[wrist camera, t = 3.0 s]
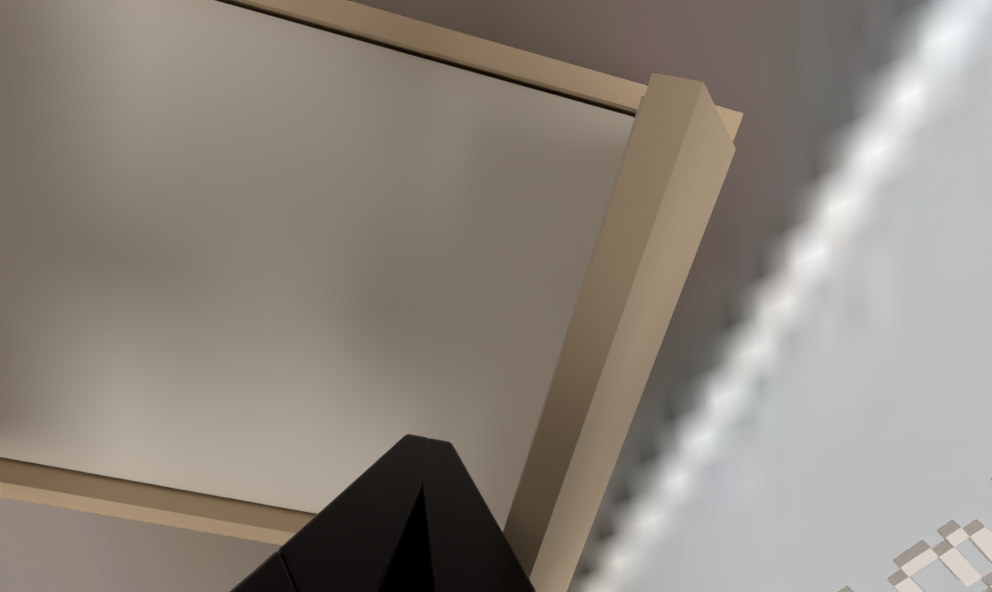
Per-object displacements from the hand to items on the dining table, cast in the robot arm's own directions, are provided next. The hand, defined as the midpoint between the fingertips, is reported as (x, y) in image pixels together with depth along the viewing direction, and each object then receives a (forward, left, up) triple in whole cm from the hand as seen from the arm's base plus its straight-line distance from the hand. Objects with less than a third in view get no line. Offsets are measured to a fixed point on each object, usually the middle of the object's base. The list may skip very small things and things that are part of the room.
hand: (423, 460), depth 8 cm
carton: (0, +4, -10) cm, 11 cm away
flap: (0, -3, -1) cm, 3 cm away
